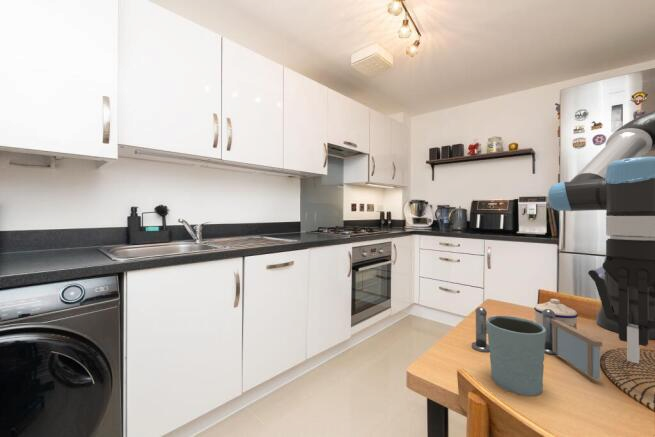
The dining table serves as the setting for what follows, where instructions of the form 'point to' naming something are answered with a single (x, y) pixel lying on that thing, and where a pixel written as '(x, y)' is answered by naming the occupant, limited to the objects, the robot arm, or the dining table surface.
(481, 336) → the post
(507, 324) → the blue-grey pot
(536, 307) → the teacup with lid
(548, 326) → the hinge post
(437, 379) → the dining table surface
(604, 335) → the dining table surface
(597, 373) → the gate
